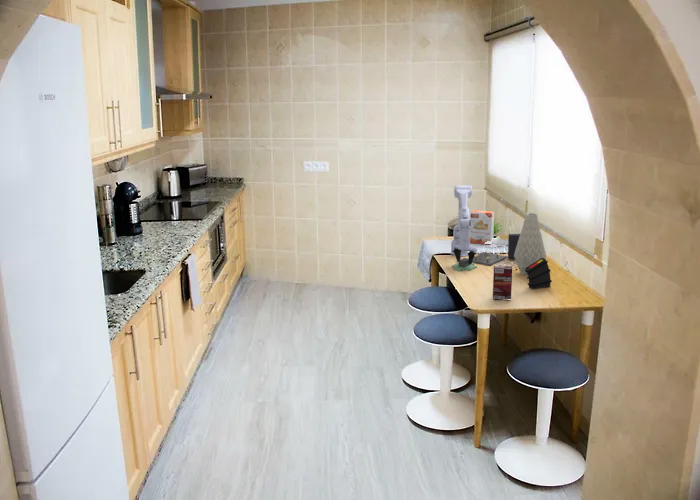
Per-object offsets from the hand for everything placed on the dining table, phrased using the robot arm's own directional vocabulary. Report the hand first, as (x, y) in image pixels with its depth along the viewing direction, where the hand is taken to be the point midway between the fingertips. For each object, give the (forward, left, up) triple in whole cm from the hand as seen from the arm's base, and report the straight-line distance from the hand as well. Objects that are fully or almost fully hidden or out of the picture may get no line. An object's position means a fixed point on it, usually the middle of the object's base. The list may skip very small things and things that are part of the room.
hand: (464, 262), depth 348 cm
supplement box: (+42, -33, -3) cm, 54 cm away
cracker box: (-20, +52, -3) cm, 56 cm away
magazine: (+48, -8, -3) cm, 49 cm away
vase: (+34, +11, -3) cm, 36 cm away
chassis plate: (+2, +21, -3) cm, 21 cm away
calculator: (+16, +32, -3) cm, 36 cm away
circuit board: (0, 0, -3) cm, 3 cm away
